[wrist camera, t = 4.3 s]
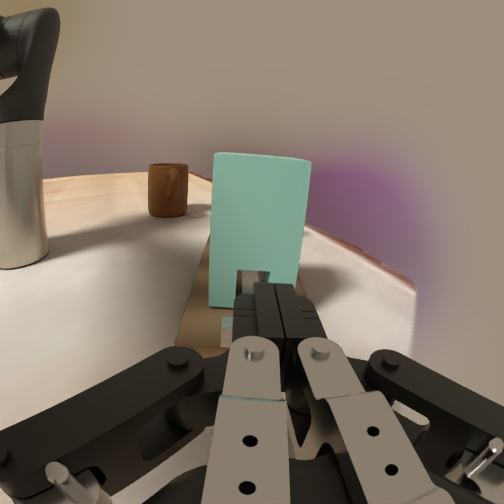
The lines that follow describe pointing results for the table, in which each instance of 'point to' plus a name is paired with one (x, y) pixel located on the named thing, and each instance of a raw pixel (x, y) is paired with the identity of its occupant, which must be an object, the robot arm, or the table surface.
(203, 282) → the board
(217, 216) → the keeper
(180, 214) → the mug
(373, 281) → the table surface
